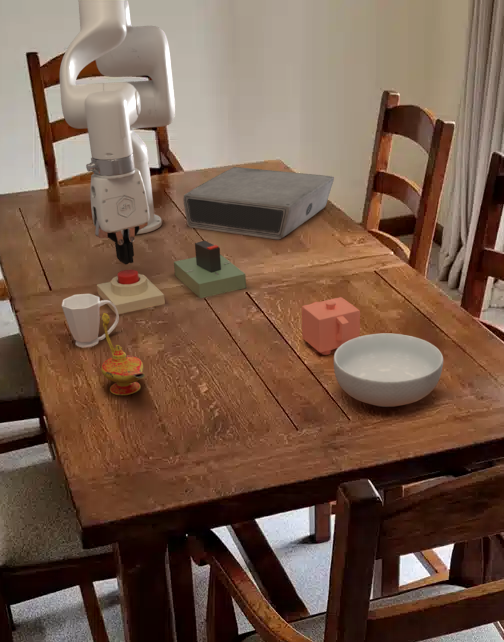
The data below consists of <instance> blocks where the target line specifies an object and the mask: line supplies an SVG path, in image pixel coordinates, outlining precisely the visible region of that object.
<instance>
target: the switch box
mask: <svg viewBox="0 0 504 642" xmlns="http://www.w3.org/2000/svg"><path fill="white" fill-rule="evenodd" d="M138 277H139V281H138V282H136V283H133V284H120V283H119V282H118V275H117V276H114V277H112V278H111V280H110V281H108V282H102V283H98V284H96V289H97V294H98V296H99V297H100V298H101V299H102V301H103V300H108V301H110V302H112V303H113V304H114V305H115V306H116V308H117V311H118V314H119V315H122V314H126V313H130V312H131V313H132V312H134V311H141V310H144V309H149V308H153V307H157V306H158V307H159V306H161V305H165V304H166V300H165V294H164V293H163V292H162V291H161V290H160V289H159V288H158V287H157V286H156V285H155V284H154V283H153V282H151V280H150V279H149V278H148V277H147V276H146V275H144V274H142V273H138ZM106 305H107V306H108V308H110V309H111V310H112V312H113V313H114V314H115V315H116V312H115V309H114V307H113V306H112V305H111V304H109V303H107V304H106Z"/></svg>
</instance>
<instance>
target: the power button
mask: <svg viewBox="0 0 504 642" xmlns="http://www.w3.org/2000/svg"><path fill="white" fill-rule="evenodd" d="M138 274H139V272H138V270H136V269H124V270H121V271H119V272H117V276H118V282H119V283H120V284H133V283H136V282H138V281H139V277H138Z"/></svg>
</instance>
